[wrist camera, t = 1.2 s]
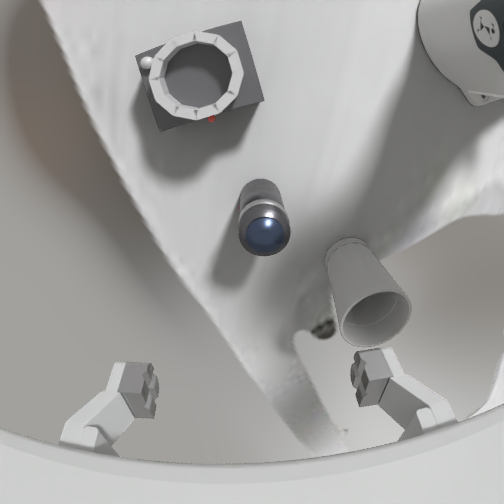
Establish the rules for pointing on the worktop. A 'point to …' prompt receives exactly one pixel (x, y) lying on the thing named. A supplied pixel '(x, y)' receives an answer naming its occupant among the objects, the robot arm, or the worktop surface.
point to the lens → (262, 218)
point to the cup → (365, 294)
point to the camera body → (200, 75)
